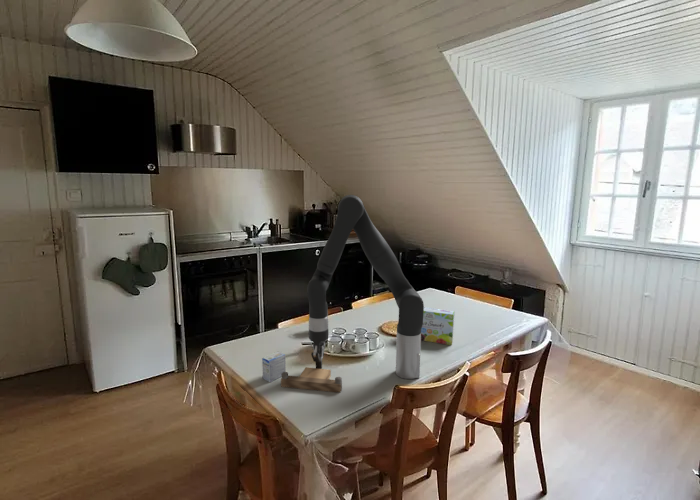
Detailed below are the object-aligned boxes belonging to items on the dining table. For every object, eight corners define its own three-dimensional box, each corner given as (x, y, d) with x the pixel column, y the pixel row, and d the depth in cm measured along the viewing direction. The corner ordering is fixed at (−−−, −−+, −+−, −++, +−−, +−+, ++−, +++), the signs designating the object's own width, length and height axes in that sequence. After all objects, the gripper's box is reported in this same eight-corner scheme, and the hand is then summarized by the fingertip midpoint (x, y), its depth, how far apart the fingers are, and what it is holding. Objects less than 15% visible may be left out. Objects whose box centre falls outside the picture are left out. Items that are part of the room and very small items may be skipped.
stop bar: (342, 388, 147) (342, 376, 146) (340, 392, 144) (340, 380, 143) (283, 382, 150) (283, 371, 150) (280, 386, 148) (280, 375, 147)
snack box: (406, 339, 191) (407, 308, 188) (408, 334, 196) (409, 304, 193) (451, 345, 184) (453, 314, 181) (453, 341, 189) (455, 310, 186)
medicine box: (278, 371, 159) (277, 350, 157) (286, 374, 156) (285, 354, 155) (262, 379, 153) (261, 357, 151) (270, 382, 150) (269, 361, 149)
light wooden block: (330, 377, 156) (330, 369, 155) (325, 387, 148) (325, 379, 147) (305, 374, 158) (305, 367, 157) (299, 384, 150) (298, 377, 149)
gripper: (323, 334, 147) (324, 378, 151) (332, 321, 160) (332, 362, 163) (304, 332, 149) (304, 376, 152) (313, 320, 162) (314, 360, 165)
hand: (318, 369), depth 158 cm, fingers closed
